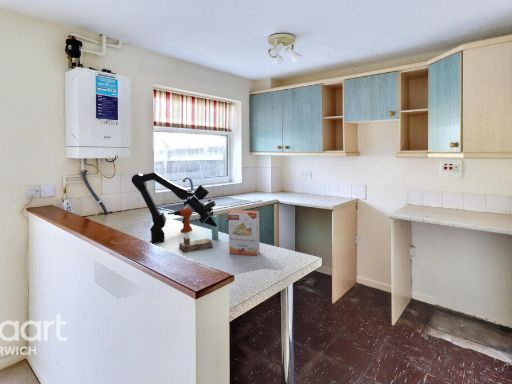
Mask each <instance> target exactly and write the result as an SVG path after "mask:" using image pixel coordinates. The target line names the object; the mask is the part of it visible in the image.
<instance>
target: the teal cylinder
mask: <svg viewBox="0 0 512 384" xmlns="http://www.w3.org/2000/svg"><path fill="white" fill-rule="evenodd" d="M211 218H212V219H213V221H214V222H215V223H216V224H217V227H215V226H212V225H211V239H212V240H213V241H214V240H215V239H216V240H219V215H214V216H211Z"/></svg>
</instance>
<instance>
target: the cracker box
mask: <svg viewBox="0 0 512 384" xmlns="http://www.w3.org/2000/svg"><path fill="white" fill-rule="evenodd" d="M227 213H228V247H229V248H228V250H229V251H228V253H229V254H230V255H242V256H244V255H246V256H258V255H259V253H260V211H259V210H245V209H244V210H240V209H231V210H230V211H228V212H227Z"/></svg>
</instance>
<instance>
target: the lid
mask: <svg viewBox="0 0 512 384" xmlns="http://www.w3.org/2000/svg"><path fill="white" fill-rule="evenodd" d="M179 243H180V244H181V245H182V246H183V247H188V246H195V245H201V244H208V243H212V244H213V243H214V242H213V241H212V240H211V239H210V238H201V239H194V240H191V239H190V237H189V236H183V241H180V242H179Z"/></svg>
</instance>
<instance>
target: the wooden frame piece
mask: <svg viewBox="0 0 512 384" xmlns="http://www.w3.org/2000/svg"><path fill="white" fill-rule="evenodd" d="M213 246H214V245H213V243H208V244H201V245H195V246H188V247H183V246H182V245H181V244H180V242H178V248H179V249H180V251H182V253H189V252H196V251H203V250H208V249H214V248H213Z"/></svg>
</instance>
